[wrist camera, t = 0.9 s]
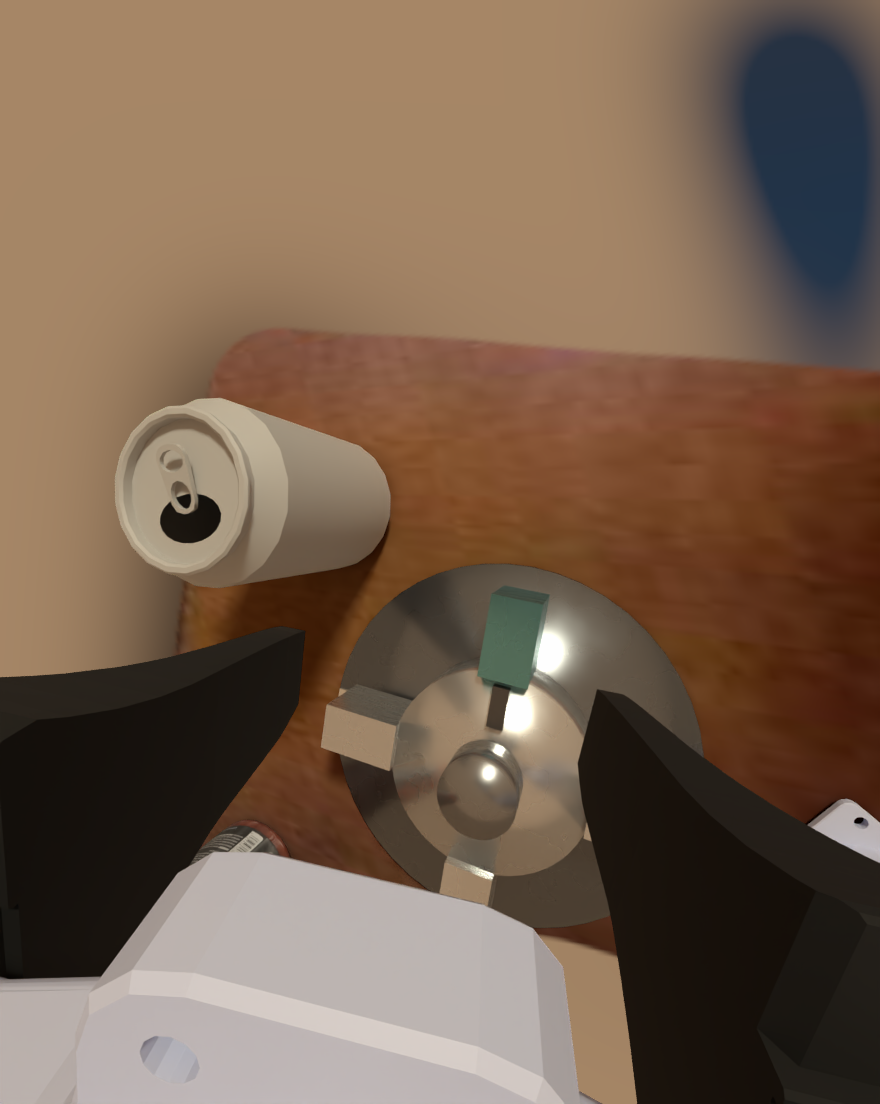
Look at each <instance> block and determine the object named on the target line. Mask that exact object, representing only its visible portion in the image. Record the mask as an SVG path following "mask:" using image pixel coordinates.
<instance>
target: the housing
mask: <svg viewBox="0 0 880 1104" xmlns="http://www.w3.org/2000/svg"><path fill="white" fill-rule="evenodd" d="M504 585H506V586H511V587H515V588H520V589H525V590H530V591H535V592H540V593H544V594H549V595H550V598H549V603H548V608H547V614H546V619H545V624H544V630H543V635H542V640H541V646H540V651H539V657H538V662H537V667H536V668H538V669H539V670H541V671H543V672H544V673H546V674H547V675H549V676H550V677H552V678H553V679H554V680H555V681H557V682H558V683H559V684H560V685H561V686H562V687H563V688H564V689H565V690H566V691H567V692H568V693H569V694H570V695H571V697H572V698H573V699H574V700H575V702H576V703H577V704H578V706H579V708H580V709H581V711H582V713H583V714H584V716H585V719H586V721H587V723H588V721H589V718H590V714H591V710H592V706H593V703H594V699H595V695H596V691H597V689H599V690H604V691H609V692H614V693H619V694H624V695H625V696H627V697H628V698H630V699H631V700H633V701H634V702H635V703H637V704H638V705H639V706H640V707H642V708H643V709H644V710H645V711H647V712H648V713H649V714H650V715H651V716H653V717H654V718H655V719H656V720H657V721H659V722H660V723H661V724H662V725H663V726H665V727H666V728H667V729H668V730H669V731H671V732H672V733H673V734H674V735H676V736H677V737H678V738H679V739H680V740H682V741H683V742H684V743H685V744H687V745H688V746H689V747H691V748H692V749H693V750H694V751H696V752H697V753H698V754H699V755H701V756H702V757H703V758H704V755H703V748H702V742H701V735H700V729H699V726H698V722H697V719H696V716H695V712H694V709H693V706H692V703H691V700H690V698H689V696H688V694H687V692H686V689H685V687H684V685H683V683H682V681H681V679H680V677H679V675H678V673H677V672H676V670H675V669H674V667H673V665H672V664H671V662H670V661H669V659H668V657H667V656H666V654H665V653H664V651H663V650H662V649H661V648H660V647H659V645H658V644H657V643H656V642H655V640H654V639H653V638H652V637H651V636H650V634H649V633H648V632H647V631H646V630H645V629H644V628H643V627H642V626H641V625H640V624H639V623H638V622H637V621H636V620H634V619H633V618H632V617H631V616H630V615H629V614H628V613H627V612H626V611H624V610H623V609H622V608H620V607H619V606H618V605H616V604H615V603H613V602H612V601H611V600H609V599H608V598H607V597H605V596H604V595H602V594H600V593H598V592H596V591H595V590H593V589H591V588H589V587H587V586H586V585H584V584H582V583H580V582H577V581H575V580H572V579H570V578H567V577H565V576H562V575H560V574H557V573H554V572H550V571H546V570H542V569H538V568H534V567H529V566H521V565H513V564H480V565H473V566H465V567H460V568H456V569H453V570H449V571H445V572H442V573H438V574H436V575H434V576H432V577H429V578H427V579H425V580H422V581H420V582H418V583H416V584H415V585H413V586H412V587H410V588H408V589H407V590H405V591H403V592H402V593H400V594H399V595H398V596H397V597H395V598H394V599H393V600H392V601H391V602H389V603H388V604H387V605H386V606H385V607H383V609H382V610H381V611H380V612H379V613H378V614H377V615H376V616H375V617H374V619H373V620H372V621H371V622H370V623H369V625H368V626H367V628H366V629H365V630H364V632H363V633H362V635H361V636H360V638H359V639H358V641H357V643H356V645H355V647H354V649H353V651H352V653H351V655H350V657H349V660H348V663H347V666H346V669H345V672H344V674H343V678H342V683H341V687H340V691H339V696H340V695H342V694H343V693H345V692H346V691H348V690H349V689H351V688H352V687H354V686H356V685H357V684H358V685H361V686H365V687H368V688H371V689H375V690H378V691H382V692H385V693H388V694H392V695H395V696H398V697H402V698H405V699H409V700H412V701H413V700H414V699H415V698H416V697H417V696H418V695H419V694H420V693H421V692H422V691H423V690H424V689H425V688H426V687H427V686H428V685H429V684H430V683H431V682H432V681H433V680H434V679H435V678H437V677H438V676H439V675H440V674H441V673H443V672H444V671H445V670H447V669H448V668H450V667H452V666H454V665H456V664H458V663H461V662H463V661H466V660H470V659H474V658H479V657H481V651H482V645H483V639H484V634H485V628H486V622H487V616H488V611H489V605H490V599H491V594H492V593H493V592H495V591H496V590H498V589H500V588H501V587H503V586H504ZM340 758H341V762H342V766H343V770H344V773H345V777H346V781H347V783H348V786H349V788H350V791H351V794H352V796H353V799H354V801H355V803H356V805H357V807H358V809H359V811H360V813H361V815H362V817H363V819H364V820H365V822H366V824H367V825H368V827H369V828H370V830H371V831H372V833H373V834H374V836H375V837H376V839H377V840H378V841H379V843H380V844H381V845H382V846H383V848H384V849H385V850H386V851H387V852H388V854H389V855H390V856H391V857H392V858H393V859H394V860H395V861H396V862H397V863H398V864H399V865H400V866H401V867H402V868H403V869H404V870H405V871H406V872H407V873H408V874H409V875H410V876H411V877H413V878H414V879H415V880H416V881H418V882H419V883H420V884H422V885H423V886H424V887H425V888H427V889H428V890H430V891H431V892H435V893H440V887H441V881H442V876H443V870H444V864H445V861H446V859H447V856H445V855H444V854H443V853H442V852H440V851H439V850H438V849H436V848H435V847H434V846H433V845H432V844H431V843H430V842H429V841H428V840H427V839H426V838H425V837H424V836H423V835H422V834H421V833H420V831H419V830H418V829H417V828H416V827H415V825H414V824H413V822H412V821H411V819H410V818H409V816H408V814H407V812H406V811H405V809H404V807H403V805H402V802H401V800H400V797H399V795H398V792H397V789H396V785H395V781H394V775H393V769H392V768H391V770H390V771H388V770H385V769H382V768H379V767H376V766H373V765H370V764H367V763H364V762H362V761H359V760H356V759H353V758H350V757H347V756H344V755H341V754H340ZM522 790H523V775H522V772H521V769H520V766H519V764H518V762H517V761H516V759H515V758H514V757H513V755H512V754H511V753H510V752H509V751H507V750H506V749H505V748H504V747H502V746H500V745H498V744H496V743H494V742H491V741H486V740H476V741H471V742H468V743H466V744H464V745H463V746H461V747H460V748H459V749H458V750H457V751H456V752H455V754H454V755H453V757H452V759H451V760H450V762H449V764H448V765H447V767H446V768H445V770H444V772H443V773H442V775H441V777H440V779H439V782H438V786H437V800H438V804H439V808H440V810H441V812H442V814H443V816H444V818H445V819H446V820H447V822H448V823H449V824H450V825H451V826H452V827H453V828H454V829H455V830H457V831H458V832H459V833H461V834H463V835H464V836H467V837H469V838H472V839H477V840H490V839H495V838H497V837H499V836H501V835H503V834H504V833H505V832H506V831H507V830H508V829H509V828H510V827H511V825H512V824H513V822H514V819H515V816H516V812H517V809H518V805H519V801H520V798H521V794H522ZM491 908H492V909H494V910H496V911H499V912H501V913H503V914H505V915H507V916H509V917H511V918H513V919H516V920H518V921H520V922H522V923H524V924H526V925H528V926H529V927H535V928H552V927H567V926H572V925H578V924H584V923H588V922H591V921H594V920H598V919H601V918H604V917H607V916H610V911H609V906H608V902H607V898H606V894H605V890H604V886H603V883H602V879H601V875H600V871H599V867H598V863H597V860H596V856H595V852H594V848H593V844H592V841H589V840H586V839H584V835H583V836H582V838H581V839H580V841H579V842H578V844H577V845H576V846H575V847H574V848H573V850H572V851H571V852H570V853H569V854H568V855H566V856H565V857H564V858H563V859H561V860H560V861H559V862H557V863H555V864H554V865H552V866H550V867H548V868H546V869H543V870H541V871H538V872H535V873H531V874H526V875H519V876H499V875H498V877H497V882H496V887H495V893H494V898H493V903H492V907H491Z"/></svg>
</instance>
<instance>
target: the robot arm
mask: <svg viewBox="0 0 880 1104" xmlns="http://www.w3.org/2000/svg"><path fill="white" fill-rule="evenodd" d="M304 639H305V631H303V630H298V629H293V628H288V627H283V626H280V627H274V628H270V629H266V630H262V631H259V632H256V633H252V634H249V635H246V636H243V637H239V638H236V639H233V640H229V641H226V642H223V643H220V644H216V645H213V646H209V647H206V648H202V649H198V650H195V651H191V652H187V653H183V654H180V655H176V656H172V657H168V658H164V659H159V660H154V661H149V662H144V663H139V664H133V665H128V666H122V667H115V668H107V669H99V670H91V671H82V672H74V673H66V674H54V675H40V676H21V677H0V1104H602V1103H600V1102H598V1101H596V1100H594V1099H593V1098H591V1097H589V1096H587V1095H585V1094H584V1093H582V1092H580V1091H579V1090H578V1083H577V1074H576V1067H575V1059H574V1050H573V1042H572V1035H571V1026H570V1019H569V1011H568V1002H567V994H566V986H565V980H564V971H563V966H562V965H561V964H560V963H559V961H558V960H557V959H556V958H555V956H554V955H553V954H552V952H551V951H550V950H549V949H548V947H547V946H546V945H545V943H544V942H543V941H542V940H541V938H540V937H539V936H538V935H537V933H536V932H535V931H534V929H533V928H531V927H529V926H528V925H526V924H524V923H522V922H520V921H518V920H516V919H513V918H511V917H509V916H507V915H505V914H503V913H501V912H499V911H496V910H494V909H492V908H490V907H488V906H486V905H484V904H482V903H478V902H473V901H469V900H465V899H461V898H457V897H452V896H448V895H444V894H440V893H435V892H431V891H427V890H423V889H419V888H414V887H410V886H406V885H402V884H397V883H393V882H389V881H385V880H381V879H376V878H372V877H368V876H364V875H360V874H355V873H351V872H347V871H343V870H338V869H334V868H330V867H326V866H322V865H317V864H313V863H309V862H305V861H300V860H296V859H292V858H288V857H284V856H279V855H275V854H271V853H267V852H213V853H211V854H209V855H208V856H206V857H204V858H203V859H201V860H199V861H198V862H196V863H194V864H192V865H191V866H189V865H190V864H191V862H192V860H193V859H194V857H195V856H196V854H197V852H198V851H199V849H200V847H201V846H202V844H203V842H204V841H205V839H206V838H207V836H208V834H209V833H210V831H211V830H212V828H213V827H214V825H215V824H216V822H217V821H218V819H219V818H220V817H221V815H222V814H223V812H224V811H225V810H226V808H227V807H228V806H229V804H230V803H231V802H232V800H233V799H234V798H235V796H236V795H237V794H238V792H239V791H240V790H241V789H242V787H243V786H244V785H245V783H246V782H247V781H248V779H249V778H250V777H251V775H252V774H253V773H254V771H255V770H256V769H257V767H258V766H259V765H260V763H261V762H262V761H263V759H264V758H265V757H266V755H267V754H268V753H269V751H270V750H271V749H272V747H273V746H274V745H275V743H276V742H277V741H278V739H279V738H280V736H281V734H282V733H283V731H284V729H285V727H286V726H287V724H288V722H289V720H290V718H291V717H292V715H293V713H294V711H295V709H296V707H297V705H298V701H299V691H300V681H301V670H302V660H303V650H304ZM578 773H579V783H580V791H581V798H582V805H583V809H584V813H585V817H586V821H587V825H588V829H589V833H590V837H591V841H592V844H593V848H594V852H595V856H596V860H597V863H598V867H599V871H600V875H601V879H602V883H603V886H604V890H605V894H606V898H607V902H608V906H609V911H610V916H611V920H612V925H613V931H614V937H615V943H616V950H617V956H618V962H619V969H620V975H621V980H622V989H623V996H624V1003H625V1009H626V1017H627V1024H628V1031H629V1039H630V1046H631V1055H632V1063H633V1072H634V1080H635V1089H636V1097H637V1104H880V822H878V821H877V820H876V819H875V818H874V817H872V816H871V815H870V814H869V813H868V812H866V811H865V810H864V809H863V808H862V807H860V806H859V805H858V804H857V803H855V802H854V801H852V800H848V799H841V800H839V801H837V802H836V803H834V804H833V805H832V806H831V807H829V808H828V809H827V810H826V811H824V812H823V813H822V814H821V815H819V816H818V817H817V818H816V819H814V820H813V821H812V822H811V823H809V824H808V825H806V824H804V823H802V822H801V821H799V820H797V819H795V818H793V817H792V816H790V815H788V814H787V813H785V812H783V811H782V810H780V809H778V808H777V807H775V806H773V805H772V804H770V803H769V802H767V801H766V800H764V799H763V798H761V797H759V796H758V795H756V794H755V793H753V792H752V791H750V790H749V789H747V788H745V787H744V786H742V785H741V784H739V783H738V782H736V781H735V780H734V779H732V778H731V777H729V776H728V775H726V774H725V773H724V772H722V771H721V770H720V769H718V768H717V767H716V766H714V765H713V764H712V763H710V762H709V761H707V760H706V759H705V758H703V757H702V756H701V755H699V754H698V753H697V752H696V751H694V750H693V749H692V748H691V747H689V746H688V745H687V744H685V743H684V742H683V741H682V740H680V739H679V738H678V737H677V736H676V735H674V734H673V733H672V732H671V731H669V730H668V729H667V728H666V727H665V726H663V725H662V724H661V723H660V722H659V721H657V720H656V719H655V718H654V717H653V716H651V715H650V714H649V713H648V712H647V711H645V710H644V709H643V708H642V707H640V706H639V705H638V704H637V703H635V702H634V701H633V700H631V699H630V698H628V697H627V696H625V695H624V694H619V693H614V692H609V691H604V690H599V689H597V691H596V695H595V699H594V703H593V706H592V710H591V714H590V718H589V721H588V725H587V729H586V733H585V737H584V740H583V744H582V748H581V752H580V756H579V759H578ZM858 817H863V818H864V820H863V822H862V823H860V824H855V823H854V820H855V819H856V818H858Z"/></svg>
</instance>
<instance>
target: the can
mask: <svg viewBox="0 0 880 1104" xmlns="http://www.w3.org/2000/svg"><path fill="white" fill-rule="evenodd" d="M390 498H391V495H390V491H389V488H388V484H387V480H386V476H385V474H384V473H383V471H382V469H381V468H380V466H379V465H378V463H377V461H376V460H375V458H374V457H372V456H371V455H370V454H369V453H367V452H366V451H365V450H364V449H363V448H361V447H360V446H358V445H355V444H352V443H350V442H347V441H344V440H341V439H338V438H335V437H332V436H329V435H327V434H324V433H321V432H318V431H315V430H312V429H309V428H306V427H303V426H300V425H297V424H295V423H292V422H289V421H286V420H283V419H280V418H277V417H274V416H271V415H268V414H266V413H263V412H260V411H257V410H254V409H251V408H248V407H245V406H242V405H239V404H236V403H234V402H231V401H228V400H225V399H222V398H212V399H196V400H194V401H192V402H190V403H188V404H185V405H183V406H169V407H166V408H164V409H162V410H160V411H157V412H155V413H153V414H151V415H149V416H147V418H146V419H145V420H144V421H143V422H142V423H141V424H140V425H139V426H138V427H137V428H136V429H135V430H134V431H133V432H132V433H131V435H130V437H129V439H128V441H127V443H126V444H125V446H124V449H123V450H122V452H121V454H120V458H119V463H118V467H117V471H116V475H115V504H116V508H117V512H118V516H119V520H120V524H121V527H122V529H123V531H124V533H125V534H126V537H127V538H128V540H129V542H130V544H131V546H132V548H133V549H134V550H135V551H136V552H137V553H138V554H139V555H140V556H141V557H142V558H143V559H144V560H145V561H146V562H147V563H148V564H149V565H151V566H153V567H155V568H157V569H159V570H161V571H163V572H165V573H167V574H172V575H175V576H177V577H179V578H181V579H183V580H185V581H187V582H189V583H191V584H193V585H195V586H203V587H214V588H223V587H229V586H235V585H241V584H247V583H253V582H259V581H266V580H272V579H278V578H284V577H290V576H296V575H302V574H309V573H315V572H321V571H327V570H333V569H339V568H343V567H346V566H350V565H353V564H356V563H358V562H359V561H361V560H362V559H363V558H365V557H366V556H368V555H369V554H370V553H372V552H373V550H374V549H375V547H376V546H377V545H378V543H379V542H380V540H381V539H382V538H383V536H384V533H385V530H386V527H387V524H388V521H389V518H390Z"/></svg>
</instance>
